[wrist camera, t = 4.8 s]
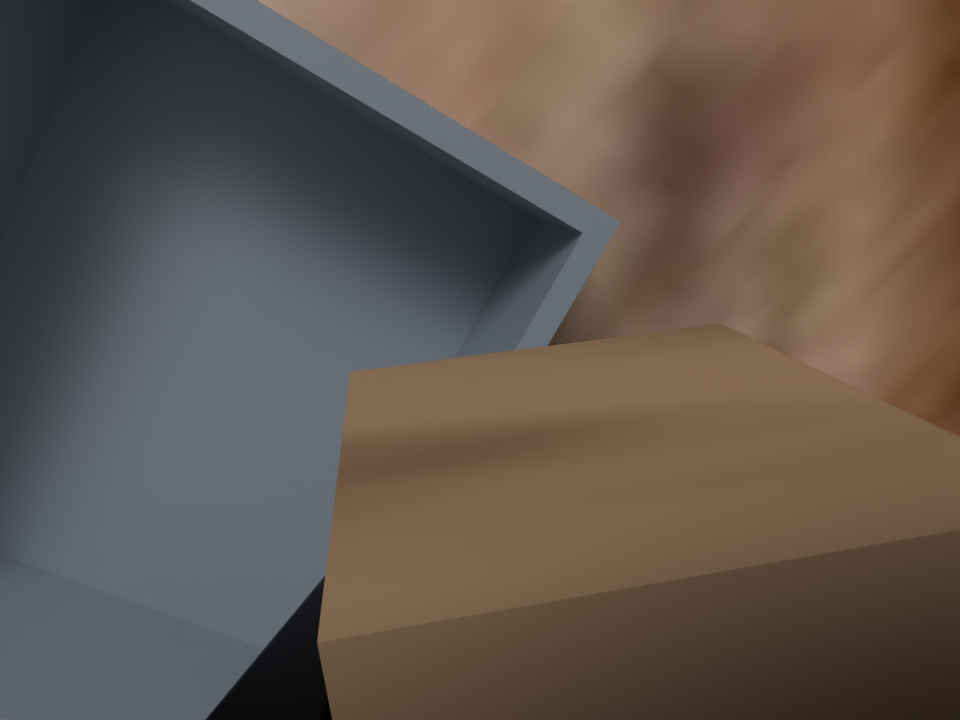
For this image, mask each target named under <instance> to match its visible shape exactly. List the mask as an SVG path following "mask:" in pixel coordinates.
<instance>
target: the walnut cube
mask: <svg viewBox="0 0 960 720" xmlns="http://www.w3.org/2000/svg"><path fill="white" fill-rule="evenodd" d="M317 645H318V650H319V655H320V660H321V665H322V670H323V675H324V680H325V685H326V690H327V695H328V700H329V705H330V710H331V715H332V720H960V437H958V436H956V435H954V434H952V433H950V432H948V431H945V430H943V429H941V428H939V427H937V426H935V425H933V424H931V423H929V422H927V421H924V420H922V419H920V418H918V417H916V416H914V415H912V414H910V413H908V412H905V411H903V410H901V409H899V408H897V407H895V406H893V405H891V404H889V403H887V402H884V401H882V400H880V399H878V398H876V397H874V396H872V395H870V394H868V393H865V392H863V391H861V390H859V389H857V388H855V387H853V386H851V385H849V384H846V383H844V382H842V381H840V380H838V379H836V378H834V377H832V376H830V375H828V374H825V373H823V372H821V371H819V370H817V369H815V368H813V367H811V366H809V365H806V364H804V363H802V362H800V361H798V360H796V359H794V358H792V357H790V356H788V355H785V354H783V353H781V352H779V351H777V350H775V349H773V348H771V347H769V346H766V345H764V344H762V343H760V342H758V341H756V340H754V339H752V338H750V337H748V336H745V335H743V334H741V333H739V332H737V331H735V330H733V329H731V328H729V327H726V326H724V325H722V324H713V325H705V326H698V327H690V328H682V329H675V330H667V331H659V332H651V333H644V334H636V335H628V336H621V337H613V338H605V339H598V340H590V341H582V342H575V343H567V344H559V345H552V346H544V347H536V348H528V349H521V350H513V351H505V352H498V353H490V354H482V355H475V356H467V357H459V358H452V359H444V360H436V361H429V362H421V363H413V364H405V365H398V366H390V367H382V368H375V369H367V370H359V371H352V372H350V378H349V386H348V394H347V402H346V411H345V419H344V427H343V435H342V443H341V451H340V460H339V468H338V476H337V484H336V492H335V500H334V508H333V517H332V525H331V533H330V541H329V549H328V557H327V566H326V574H325V582H324V590H323V598H322V606H321V614H320V623H319V631H318V639H317Z"/></svg>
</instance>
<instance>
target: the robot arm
mask: <svg viewBox="0 0 960 720" xmlns="http://www.w3.org/2000/svg"><path fill="white" fill-rule="evenodd" d="M324 582H325V576H324V577H323V578H322V579H321V581H320V582H319V583H318V584H317V585H316V587H315V588H314V589H313V590H312V591H311V593H310V594H309V595H308V596H307V597H306V599H305V600H304V601H303V602H302V603H301V605H300V606H299V607H298V608H297V609H296V611H295V612H294V613H293V614H292V616H291V617H290V618H289V619H288V620H287V622H286V623H285V624H284V625H283V626H282V628H281V629H280V630H279V631H278V632H277V634H276V635H275V636H274V637H273V638H272V640H271V641H270V642H269V643H268V644H267V646H266V647H265V648H264V649H263V650H262V652H261V653H260V654H259V655H258V657H257V658H256V659H255V660H254V661H253V663H252V664H251V665H250V666H249V667H248V669H247V670H246V671H245V672H244V673H243V675H242V676H241V677H240V678H239V679H238V681H237V682H236V683H235V684H234V685H233V687H232V688H231V689H230V690H229V691H228V693H227V694H226V695H225V696H224V698H223V699H222V700H221V701H220V702H219V704H218V705H217V706H216V707H215V708H214V710H213V711H212V712H211V713H210V714H209V716H208V717H207V718H206V719H205V720H332V715H331V710H330V705H329V700H328V695H327V690H326V685H325V680H324V675H323V670H322V665H321V660H320V655H319V650H318V645H317V639H318V631H319V623H320V614H321V606H322V598H323V590H324Z"/></svg>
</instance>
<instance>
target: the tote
mask: <svg viewBox="0 0 960 720" xmlns="http://www.w3.org/2000/svg"><path fill="white" fill-rule="evenodd" d="M619 224H620V221H619V220H617V219H615V218H614V217H612V216H610V215H609V214H607V213H605V212H604V211H602V210H601V209H599V208H597V207H596V206H594V205H592V204H591V203H589V202H587V201H586V200H584V199H582V198H581V197H579V196H578V195H576V194H574V193H573V192H571V191H569V190H568V189H566V188H564V187H563V186H561V185H559V184H558V183H556V182H555V181H553V180H551V179H550V178H548V177H546V176H545V175H543V174H541V173H540V172H538V171H536V170H535V169H533V168H532V167H530V166H528V165H527V164H525V163H523V162H522V161H520V160H518V159H517V158H515V157H513V156H512V155H510V154H509V153H507V152H505V151H504V150H502V149H500V148H499V147H497V146H495V145H494V144H492V143H490V142H489V141H487V140H485V139H484V138H482V137H481V136H479V135H477V134H476V133H474V132H472V131H471V130H469V129H467V128H466V127H464V126H462V125H461V124H459V123H458V122H456V121H454V120H453V119H451V118H449V117H448V116H446V115H444V114H443V113H441V112H439V111H438V110H436V109H435V108H433V107H431V106H430V105H428V104H426V103H425V102H423V101H421V100H420V99H418V98H416V97H415V96H413V95H412V94H410V93H408V92H407V91H405V90H403V89H402V88H400V87H398V86H397V85H395V84H393V83H392V82H390V81H389V80H387V79H385V78H384V77H382V76H380V75H379V74H377V73H375V72H374V71H372V70H370V69H369V68H367V67H366V66H364V65H362V64H361V63H359V62H357V61H356V60H354V59H352V58H351V57H349V56H347V55H346V54H344V53H343V52H341V51H339V50H338V49H336V48H334V47H333V46H331V45H329V44H328V43H326V42H324V41H323V40H321V39H320V38H318V37H316V36H315V35H313V34H311V33H310V32H308V31H306V30H305V29H303V28H301V27H300V26H298V25H297V24H295V23H293V22H292V21H290V20H288V19H287V18H285V17H283V16H282V15H280V14H278V13H277V12H275V11H274V10H272V9H270V8H269V7H267V6H265V5H264V4H262V3H260V2H259V1H257V0H0V720H205V719H206V718H207V717H208V716H209V714H210V713H211V712H212V711H213V710H214V708H215V707H216V706H217V705H218V704H219V702H220V701H221V700H222V699H223V698H224V696H225V695H226V694H227V693H228V691H229V690H230V689H231V688H232V687H233V685H234V684H235V683H236V682H237V681H238V679H239V678H240V677H241V676H242V675H243V673H244V672H245V671H246V670H247V669H248V667H249V666H250V665H251V664H252V663H253V661H254V660H255V659H256V658H257V657H258V655H259V654H260V653H261V652H262V650H263V649H264V648H265V647H266V646H267V644H268V643H269V642H270V641H271V640H272V638H273V637H274V636H275V635H276V634H277V632H278V631H279V630H280V629H281V628H282V626H283V625H284V624H285V623H286V622H287V620H288V619H289V618H290V617H291V616H292V614H293V613H294V612H295V611H296V609H297V608H298V607H299V606H300V605H301V603H302V602H303V601H304V600H305V599H306V597H307V596H308V595H309V594H310V593H311V591H312V590H313V589H314V588H315V587H316V585H317V584H318V583H319V582H320V581H321V579H322V578H323V577H324V576H325V574H326V566H327V557H328V549H329V541H330V533H331V525H332V517H333V508H334V500H335V492H336V484H337V476H338V468H339V460H340V451H341V443H342V435H343V427H344V419H345V411H346V402H347V394H348V386H349V378H350V372H352V371H359V370H367V369H375V368H382V367H390V366H398V365H405V364H413V363H421V362H429V361H436V360H444V359H452V358H459V357H467V356H475V355H482V354H490V353H498V352H505V351H513V350H521V349H528V348H536V347H544V346H548V344H549V343H550V341H551V339H552V338H553V336H554V334H555V332H556V331H557V329H558V327H559V326H560V324H561V322H562V321H563V319H564V317H565V316H566V314H567V312H568V310H569V309H570V307H571V305H572V304H573V302H574V300H575V299H576V297H577V295H578V293H579V292H580V290H581V288H582V287H583V285H584V283H585V282H586V280H587V278H588V276H589V275H590V273H591V271H592V270H593V268H594V266H595V265H596V263H597V261H598V259H599V258H600V256H601V254H602V253H603V251H604V249H605V248H606V246H607V244H608V242H609V241H610V239H611V237H612V236H613V234H614V232H615V231H616V229H617V227H618V225H619Z"/></svg>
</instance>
